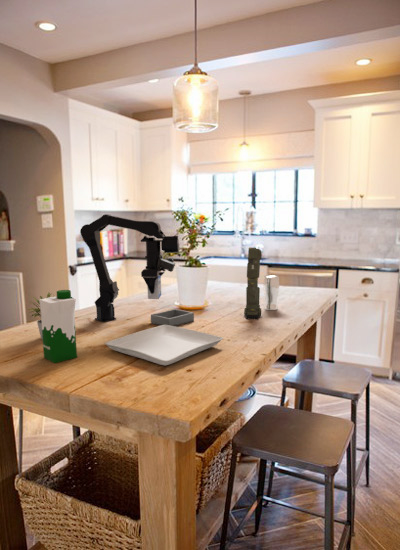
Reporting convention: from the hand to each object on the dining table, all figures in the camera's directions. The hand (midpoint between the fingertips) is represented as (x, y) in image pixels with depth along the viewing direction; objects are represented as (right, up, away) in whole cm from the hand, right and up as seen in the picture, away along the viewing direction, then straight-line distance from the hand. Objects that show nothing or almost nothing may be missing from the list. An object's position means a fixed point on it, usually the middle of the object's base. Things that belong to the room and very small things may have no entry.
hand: (154, 291), depth 163 cm
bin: (+7, -12, -2) cm, 14 cm away
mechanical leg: (+41, -11, +9) cm, 43 cm away
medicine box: (0, -3, 0) cm, 3 cm away
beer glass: (+51, -9, +21) cm, 56 cm away
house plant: (-35, -15, -21) cm, 44 cm away
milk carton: (-24, -18, -42) cm, 52 cm away
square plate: (+7, -18, -35) cm, 40 cm away
